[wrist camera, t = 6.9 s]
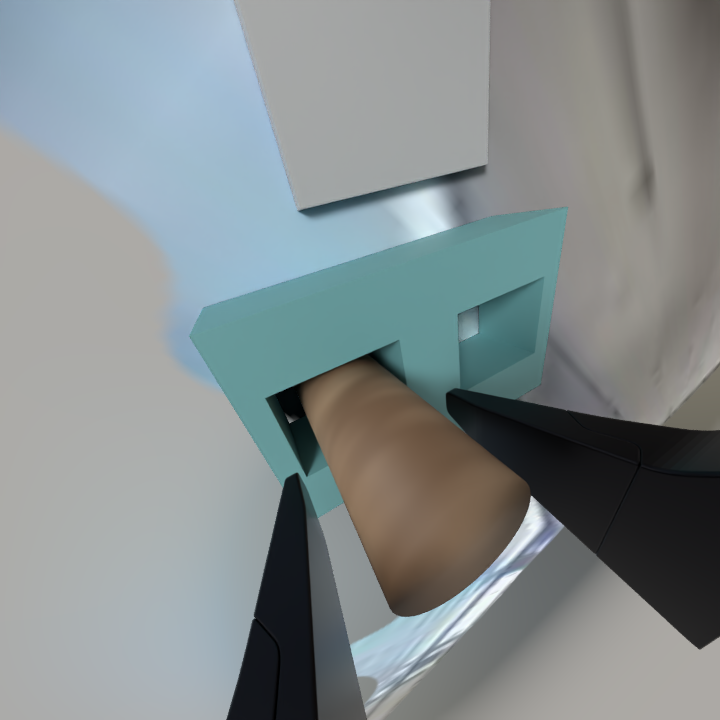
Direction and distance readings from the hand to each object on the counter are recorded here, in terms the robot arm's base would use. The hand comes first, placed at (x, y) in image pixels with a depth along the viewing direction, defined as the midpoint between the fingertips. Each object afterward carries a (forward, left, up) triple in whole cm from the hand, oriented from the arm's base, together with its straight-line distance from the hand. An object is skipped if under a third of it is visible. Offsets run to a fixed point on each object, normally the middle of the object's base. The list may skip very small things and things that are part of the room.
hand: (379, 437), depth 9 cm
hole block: (-4, 0, -6) cm, 7 cm away
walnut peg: (0, 0, -6) cm, 6 cm away
